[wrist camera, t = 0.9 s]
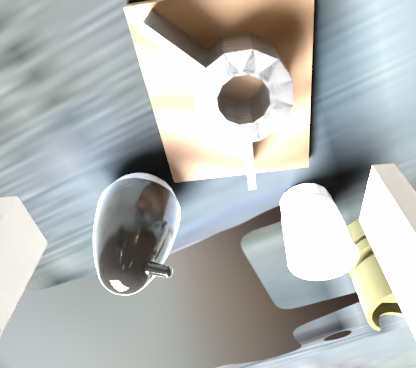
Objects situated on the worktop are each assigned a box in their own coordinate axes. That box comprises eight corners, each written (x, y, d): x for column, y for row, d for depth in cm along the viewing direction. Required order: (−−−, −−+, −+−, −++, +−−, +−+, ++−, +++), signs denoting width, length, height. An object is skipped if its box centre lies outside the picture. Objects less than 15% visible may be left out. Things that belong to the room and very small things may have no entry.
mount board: (126, 4, 30) (123, 7, 29) (311, -30, 28) (315, -28, 27) (175, 175, 43) (174, 182, 41) (305, 159, 41) (308, 166, 40)
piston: (441, 335, 44) (355, 333, 44) (401, 261, 53) (331, 260, 53) (487, 285, 36) (385, 283, 37) (432, 210, 46) (350, 209, 46)
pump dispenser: (194, 210, 46) (187, 310, 35) (126, 223, 48) (98, 322, 37) (169, 151, 40) (151, 249, 28) (93, 169, 42) (45, 267, 30)
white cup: (346, 190, 44) (375, 249, 36) (311, 227, 48) (329, 287, 41) (296, 170, 42) (315, 228, 34) (264, 211, 46) (274, 270, 39)
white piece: (145, 9, 29) (135, 23, 25) (282, -16, 28) (293, -5, 24) (186, 170, 40) (183, 197, 36) (285, 158, 39) (293, 185, 35)
